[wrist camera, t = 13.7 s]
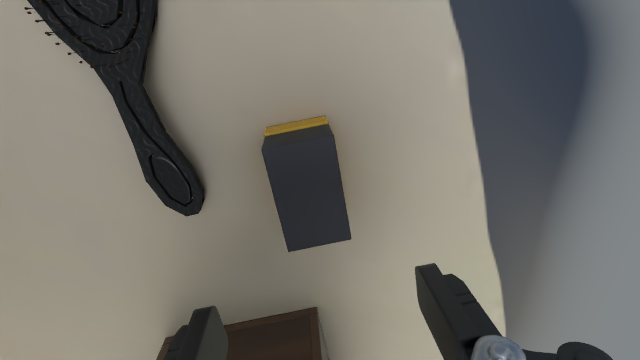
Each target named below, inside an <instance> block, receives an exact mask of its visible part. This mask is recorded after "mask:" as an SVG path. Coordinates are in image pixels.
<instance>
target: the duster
mask: <svg viewBox="0 0 640 360" xmlns="http://www.w3.org/2000/svg"><path fill="white" fill-rule="evenodd" d="M264 134H265V139H264V143H263V146H262V154H263V158H264V162H265V165H266V169H267V173H268V177H269V181H270V184H271V188H272V192H273V196H274V199H275V203H276V207H277V211H278V215H279V218H280V222H281V226H282V230H283V234H284V237H285V241H286V245H287V249H288V252H291V251H296V250H301V249H306V248H310V247H315V246H320V245H325V244H330V243H335V242H340V241H345V240H350V239H351V233H350V227H349V221H348V215H347V210H346V204H345V198H344V192H343V186H342V180H341V175H340V169H339V163H338V157H337V151H336V146H335V140H334V135H333V133H332V131H331V129H330V127H329V124H328V121H327V118H326V116H321V117H316V118H311V119H306V120H301V121H296V122H291V123H286V124H281V125H276V126H271V127H266V130H265V133H264Z"/></svg>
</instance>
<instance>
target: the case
mask: <svg viewBox="0 0 640 360" xmlns="http://www.w3.org/2000/svg"><path fill="white" fill-rule="evenodd" d="M224 328H225V330H226V333H227V337H228V352H227V357H226V360H330V359H329V355H328V351H327V347H326V343H325V339H324V334H323V330H322V326H321V322H320V318H319V314H318V310H317V307H315V308H310V309H306V310H301V311H296V312H291V313H286V314H281V315H276V316H271V317H266V318H261V319H257V320H252V321H247V322H242V323H237V324H232V325H227V326H224ZM173 337H174V336H173ZM173 337H168V338H165V341H164V343H163V345H162V347H161V350H160V352H159V354H158V357H157V359H156V360H164V357H165V355H166V353H167V352H168V351H167V350H168V348H169V345H170V343H171V340H172V338H173Z"/></svg>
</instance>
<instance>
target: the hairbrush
mask: <svg viewBox="0 0 640 360" xmlns="http://www.w3.org/2000/svg"><path fill="white" fill-rule="evenodd" d="M27 1H28V2H29V3H30V4H31V5H32V7H33V8H34V9H35V10H36V11H37V13H38V14H39V15H40V16H41V17H42V19H43V20H35V22H37V23H38V22H40V21H45V22H46V23H47V25H48V26H49V27H50V28H51V29H52V31H53V32H45V34H47V35H48V36H50V35H53V34H49V33H55V34H56V35H57V36H58V37H59V38H60V39H61V40H62V41H63V42H64V43H66V44H67V45H68V46H69V47H70V48H71V49H72V50H74V51H75V53H77V54H78V55H79V56H80V57H81V58H83V59H84V60H85V61H86V62H87V63H88V64H89V65H90V67H91V68H94V70H95V71H96V73H97V74H98V76H99V77H100V79H101V80H102V82H103V83H104V84H105V86H106V87H107V89H108V90H109V92H110V93H111V95H112V97H113V99H114V101H115V104H116V106H117V108H118V110H119V113H120V115H121V117H122V120H123V122H124V124H125V127H126V129H127V131H128V134H129V136H130V138H131V141H132V143H133V145H134V148H135V151H136V154H137V157H138V160H139V163H140V165H141V168H142V171H143V174H144V177H145V180H146V182H147V183H148V184H149V185H150V187H151V188H152V189H153V190H154V192H155V193H156V194H157V196H158V197H159V198H160V199H161V201H162V202H163V203H164V204H165V206H167V207H169V208H171V209H173V210H175V211H177V212H179V213H181V214H183V215H185V216H190V215H195V214H198V213H199V212H200V210H201V207H202V204H203V202H204V189H203V187H202V184H201V182H200V180H199V178H198V176H197V174H196V172H195V170H194V168H193V166H192V164H191V163H190V162H189V160H188V159H187V158H186V156H185V155H184V154H183V152H182V151H181V150H180V149H179V147H178V146H177V145H176V143H175V142H174V141H173V140H172V138H171V137H170V136H169V134H168V133H167V132H166V130H165V128H164V126H163V124H162V122H161V120H160V118H159V116H158V114H157V112H156V110H155V108H154V106H153V104H152V102H151V100H150V98H149V96H148V94H147V92H146V90H145V88H144V86H143V84H144V75H145V66H146V58H147V51H148V47H149V45H150V41H151V36H152V32H153V28H154V25H155V21H156V17H157V0H27ZM24 8H25V10H28V9H33V8H28V7H24ZM34 13H35V12H34ZM28 14H32V13H31V12H28ZM139 16H140V21H139ZM89 18H90V19H91V20H90V19H89ZM92 20H93V21H94V22H96V23H97V24H98V25H97V24H95V23H94V22H93V21H92ZM112 23H114V24H113V25H112V26H111V27H100V26H99V25H109V24H112ZM134 35H135V36H134ZM133 37H134V39H132V38H133ZM130 41H132V42H131V43H130V44H129V45H128V43H129V42H130ZM55 44H56V45H59V43H55ZM60 44H61V43H60ZM127 45H128V46H127ZM94 46H95V47H97V48H99V49H102V50H104V51H102V50H98V49H96V48H95V47H94ZM125 46H127V47H125ZM124 47H125V48H124ZM122 48H124V49H123V50H122V51H121V52H120V53H118V54H116V53H112V52H107V51H116V50H120V49H122ZM68 55H71V53H68ZM79 63H82V61H80V62H79ZM153 154H154V155H153ZM192 197H193V199H192V200H191V198H192ZM190 200H191V201H190ZM189 201H190V202H189Z"/></svg>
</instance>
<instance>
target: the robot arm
mask: <svg viewBox="0 0 640 360" xmlns="http://www.w3.org/2000/svg"><path fill="white" fill-rule="evenodd" d="M415 275H416V286H417V297H418V302H419V306H420V309H421V312H422V314H423V316H424V318H425V320H426V323H427V325H428V327H429V329H430V331H431V333H432V335H433V337H434V339H435V342H436V344H437V346H438V348H439V350H440V352H441V354H442V356H443V358H444V360H613V359H612V358H611V357H610V356H609V355H607V354H606V353H605V352H603V351H602V350H600V349H598V348H596V347H594V346H592V345H589V344H585V343H581V342H568V343H565V344H563V345H561V346H560V347H559V348H558V351H557V354H553V353H542V352H533V351H528V350H524V349H521V348H520V347H519V346H518V345H517V344H516V343H515V342H513V341H512V340H510V339H508V338H505V337H503V336H502V335H501V334H500V332H499V331H498V330H497V328H496V327H495V325H494V324H493V323H492V321H491V320H490V318H489V317H488V316H487V314H486V313H485V311H484V310H483V308H482V307H481V306H480V304H479V303H478V302H477V300H476V299H475V297H474V296H473V294H471V292H470V290H469V289H468V287H467V286H466V285H465V283H464V282H463V281H462V280H460V279H459V278H458V277H456V276H455V275H453V274H447V275H442V273H441V271H440V270H439V268H438V267H437V265H436V264H435V263H432V264H427V265H422V266H416V267H415ZM167 351H168V352H167V353H166V355H165V357H164V360H226V357H227V352H228V337H227V333H226V330H225V328H224V325H223V323H222V320H221V318H220V315H219V313H218V310H217V308H216V307H215V306H210V307H205V308H200V309H195V310H194V311H193V314H192V316H191V319H190V322H189V324H188V325H184V326H182V327H181V328H180V329H179V330H178V332H177V333H176V334H175V335H174V337H173V338H172V340H171V343H170V345H169V348H168V350H167Z"/></svg>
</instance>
